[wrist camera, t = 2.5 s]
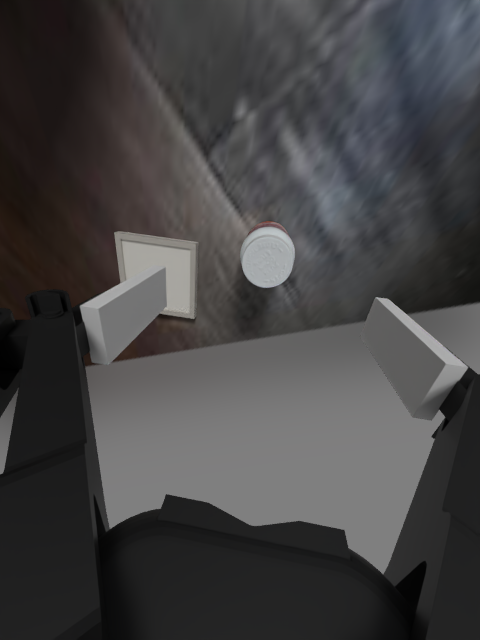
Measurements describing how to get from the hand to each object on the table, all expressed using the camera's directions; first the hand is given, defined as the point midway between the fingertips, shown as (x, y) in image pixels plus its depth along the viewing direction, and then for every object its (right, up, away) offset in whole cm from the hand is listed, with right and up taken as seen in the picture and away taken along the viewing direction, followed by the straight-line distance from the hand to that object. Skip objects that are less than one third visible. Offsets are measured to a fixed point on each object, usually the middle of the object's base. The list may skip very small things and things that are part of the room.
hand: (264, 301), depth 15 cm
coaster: (-14, +6, +23) cm, 27 cm away
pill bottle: (+2, +10, +19) cm, 21 cm away
